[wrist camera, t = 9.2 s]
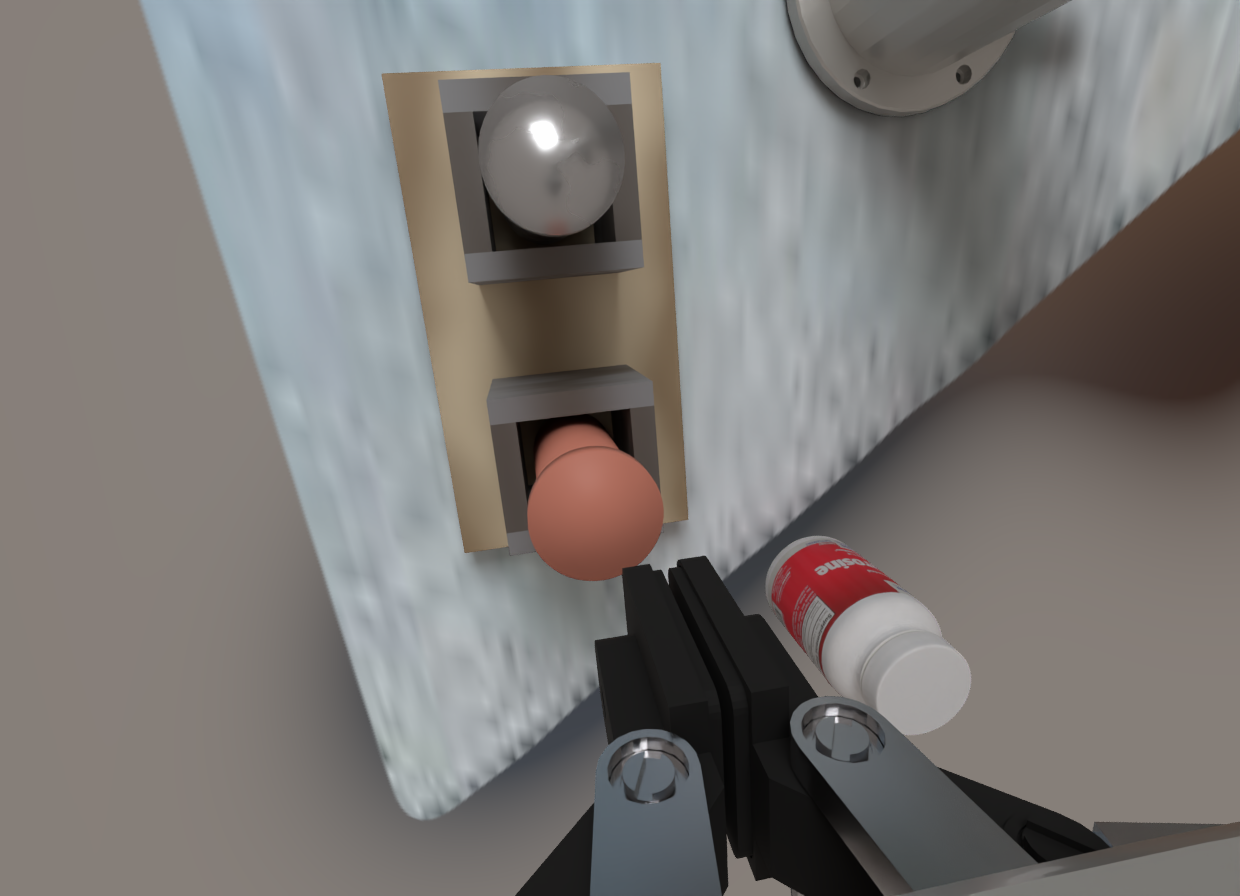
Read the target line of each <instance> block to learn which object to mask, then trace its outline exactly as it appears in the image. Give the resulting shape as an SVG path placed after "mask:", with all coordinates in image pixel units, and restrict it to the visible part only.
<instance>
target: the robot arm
mask: <svg viewBox="0 0 1240 896" xmlns="http://www.w3.org/2000/svg"><path fill="white" fill-rule="evenodd" d="M1069 1H1071V0H787V7H788V13H789V16H790V20H791V23H792V27H793V30H794V33H795V37H796V39H797V42H798V44H799V46H800V48H801V50H802V52H803V54H804V56H805V58H806V60H807V62H808V63H809V65H810V66H811V67H812V69H813V70H814V72H815V73H816V74H817V76H818V77H819V78H820V80H821V81H822V82H823V83H824V84H825V85H826V86H827V87H828V88H829V89H830V90H832V91H833V92H834V93H835V94H836V95H837V96H838V97H839V98H841V99H842V100H844V101H846V102H848V103H849V104H851V105H853V106H855V107H856V108H858V109H860V110H864V111H867V112H870V113H874V114H877V115H882V116H898V117H902V116H908V115H914V114H920V113H924V112H926V111H929V110H931V109H934V108H936V107H939V106H941V105H944V104H946V103H947V102H949V101H951V100H953V99H955V98H957V97H959V96H961V95H962V94H964V93H965V92H967V91H968V90H969V89H970V88H972V87H973V86H974V85H975V84H976V83H978V82H979V81H980V80H981V79H983V78H984V76H985V75H986V74H987V73H988V72H989V71H990V69H991V68H992V67H993V66H994V65H995V64H996V63H997V61H998V60H999V59H1000V57H1001V56H1002V54H1003V53H1004V51H1005V49H1006V48H1007V46H1008V44H1009V43H1010V41H1011V40H1012V38H1013V36H1014V34H1015V32H1016V30H1017V29H1019V28H1021V27H1023V26H1024V25H1026V24H1028V23H1030V22H1032V21H1034V20H1036V19H1038V18H1039V17H1041V16H1043V15H1045V14H1047V13H1049V12H1051V11H1053V10H1054V9H1056V8H1058V7H1060V6H1062V5H1064V4H1066V3H1068V2H1069ZM854 82H855V83H856V86H855V84H854ZM622 578H623V589H624V599H625V610H626V621H627V632H628V635H625V636H619V637H613V638H607V639H601V640H595V652H596V661H597V670H598V678H599V687H600V693H601V701H602V708H603V715H604V721H605V727H606V733H607V739H608V746H607V747H606V749H605V750H604V752H603V753H602V755H601V756H600V758H599V761H598V765H597V769H596V783H595V802H594V804H593V805H592V806H591V807H590V808H589V809H588V810H587V812H586V813H585V814H584V815H583V816H582V817H581V819H580V820H579V821H578V822H577V824H576V825H575V826H574V827H573V828H572V830H571V831H570V832H569V833H568V834H567V835H566V836H565V838H564V839H563V840H562V841H561V842H560V843H559V845H558V846H557V847H556V848H555V849H554V850H553V852H552V853H551V854H550V855H549V856H548V858H547V859H546V860H545V861H544V862H543V863H542V865H541V866H540V867H539V868H538V869H537V871H536V872H535V873H534V874H533V875H532V876H531V878H530V879H529V880H528V881H527V882H526V883H525V885H524V886H523V887H522V888H521V889H520V891H519V892H518V893H517V894H516V895H515V896H723V895H724V893H725V891H726V889H727V887H728V868H727V837H726V834H727V836H728V839H729V842H730V844H731V848H732V850H733V853H734V855H735V857H736V858H743V857H747V859H748V861H749V864H750V867H751V869H752V872H753V875H754V877H755V880H756V881H758V880H763V879H767V878H774V879H776V880H778V881H779V882H781V883H783V884H784V885H786V886H788V887H790V888H791V896H1240V822H1235V823H1230V824H1180V823H1178V824H1177V823H1128V822H1094V827H1093V832H1092V831H1090V830H1089V829H1087V828H1086V827H1084V826H1083V825H1081V824H1080V823H1078V822H1076V821H1074V820H1071V819H1069V818H1067V817H1065V816H1063V815H1061V814H1059V813H1057V812H1054V811H1051V810H1048V809H1046V808H1043V807H1041V806H1038V805H1036V804H1033V803H1030V802H1028V801H1025V800H1022V799H1020V798H1017V797H1015V796H1012V795H1009V794H1007V793H1004V792H1001V791H999V790H996V789H993V788H991V787H988V786H986V785H983V784H980V783H978V782H975V781H973V780H970V779H967V778H965V777H962V776H959V775H957V774H954V773H952V772H949V771H946V770H944V769H941V768H939V767H936V766H935V765H934V764H933V763H932V762H931V761H930V760H929V759H928V758H927V757H926V756H925V755H924V754H923V753H922V752H921V751H920V750H919V749H917V748H916V747H915V746H914V745H913V744H912V743H911V742H910V741H909V740H908V739H907V738H906V737H905V736H904V735H903V734H902V733H901V732H900V731H899V730H898V729H897V728H895V727H894V726H893V725H892V724H891V723H890V722H889V721H888V720H887V719H886V718H885V717H884V716H882V715H881V714H880V713H878V712H877V711H876V710H874V709H873V708H872V707H870V706H867V705H865V704H863V703H861V702H859V701H856V700H852V699H848V698H844V697H835V696H824V697H818V696H817V695H816V693H815V692H814V690H813V689H812V687H811V686H810V684H809V683H808V681H807V680H806V679H805V677H804V676H803V674H802V673H801V671H800V670H799V668H798V667H797V666H796V664H795V663H794V662H793V660H792V658H791V657H790V655H789V654H788V653H787V651H786V650H785V648H784V647H783V645H782V644H781V643H780V641H779V640H778V638H777V637H776V635H775V634H774V632H773V631H772V630H771V628H770V627H769V625H768V624H767V622H766V621H765V619H764V618H763V617H762V616H761V615H759V614H755V615H748V616H744V615H743V613H742V612H741V610H740V609H739V607H738V606H737V604H736V602H735V601H734V599H733V598H732V596H731V594H730V593H729V592H728V590H727V588H726V587H725V585H724V584H723V582H722V580H721V579H720V577H719V576H718V574H717V573H716V571H715V569H714V568H713V566H712V565H711V563H710V562H709V560H708V559H707V557H706V556H700V557H693V558H687V559H680V560H678V561H677V567H675V568H669V570H668V579H669V585H668V583H667V581H666V578H665V576H664V574H663V572H662V570H655V571H653V570H652V568H651V566H650V564H646V565H640V566H633V567H626V568H622Z"/></svg>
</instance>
